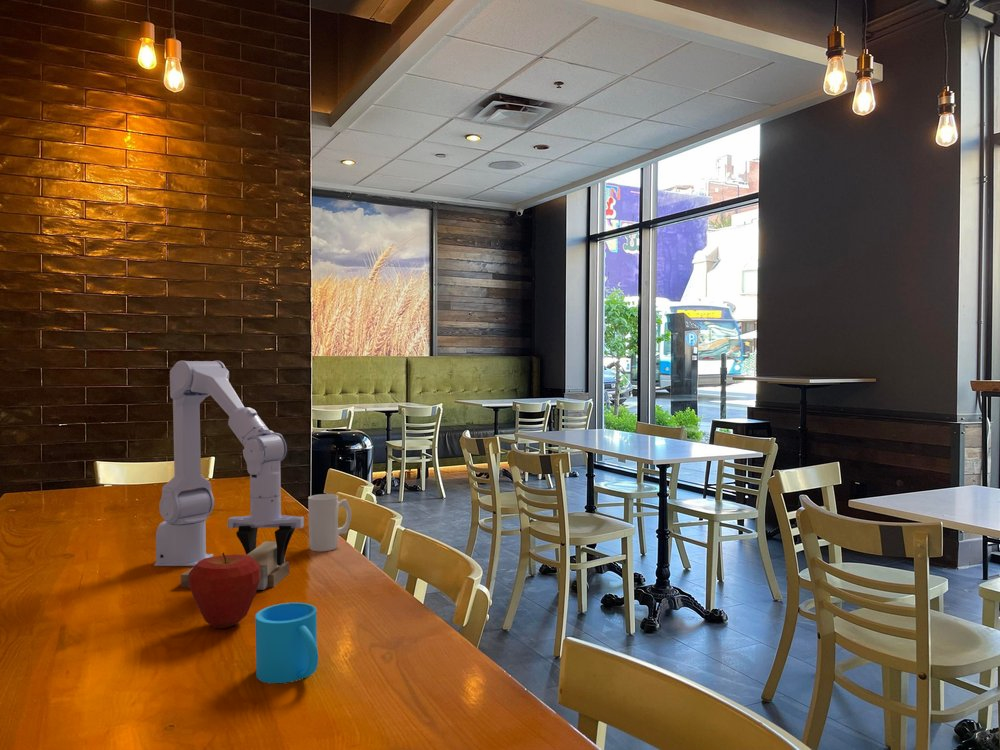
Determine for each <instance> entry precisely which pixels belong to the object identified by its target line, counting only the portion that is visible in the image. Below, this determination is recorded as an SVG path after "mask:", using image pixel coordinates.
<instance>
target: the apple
mask: <svg viewBox="0 0 1000 750" xmlns="http://www.w3.org/2000/svg"><path fill="white" fill-rule="evenodd" d="M192 568H193V569H192V570H191V571H190V572H189V587H188V588H189V589H190V592H191V595H192V596H193V599H194V601H195V604H196V606H197V608H198V609H199V612H200V613H201V615H202V618H203V619H204V621H205V622H206V623H207V624H209V625H210V626H212V627H213V628H215V629H225V628H229V627H233V626H235V625H237V624H238V623H240V622H241V621H242V620H243V619H244V618H246V617H247V615H248V612H249V610H250V608H251V605H252V604H253V601H254V598H255V596H256V593H257V591H258V590H257V587H258V584H259V581H260V578H261V570H260V564H259V563H258V562H257V561H256V560H255V559H254V558H252V557H251V556H247V555H246V554H226V555H225V551H224V552H223V553H222V554H221V555H218V556H213V557H210V558H204V559H202V560H201V561H199V562H198V563H197V564H196V565H195V566H192Z"/></svg>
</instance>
